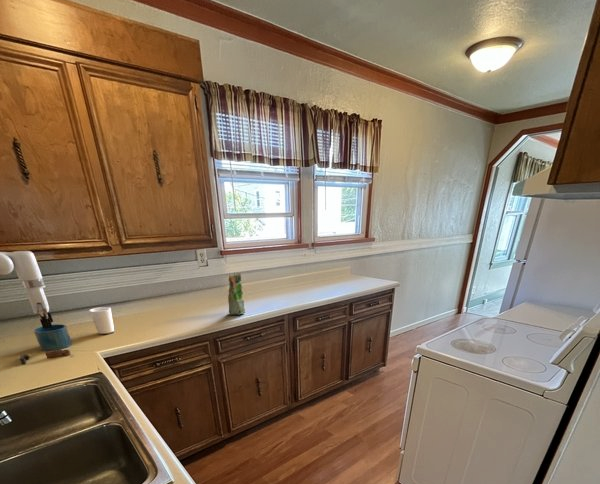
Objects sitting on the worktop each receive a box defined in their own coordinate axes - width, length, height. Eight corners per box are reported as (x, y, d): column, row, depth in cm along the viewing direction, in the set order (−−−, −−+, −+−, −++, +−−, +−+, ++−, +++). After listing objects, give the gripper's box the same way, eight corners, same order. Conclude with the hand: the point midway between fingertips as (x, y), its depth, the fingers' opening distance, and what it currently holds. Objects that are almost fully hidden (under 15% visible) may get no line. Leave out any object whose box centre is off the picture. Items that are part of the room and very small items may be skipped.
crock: (40, 352, 148) (32, 333, 144) (41, 344, 157) (34, 326, 153) (72, 347, 154) (65, 329, 150) (71, 340, 163) (66, 322, 159)
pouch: (243, 310, 214) (239, 271, 203) (248, 315, 205) (245, 273, 193) (226, 312, 210) (222, 272, 199) (231, 317, 200) (227, 275, 189)
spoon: (47, 359, 141) (45, 353, 140) (47, 357, 143) (45, 351, 142) (70, 355, 145) (68, 349, 144) (70, 353, 147) (68, 347, 146)
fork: (27, 363, 137) (25, 358, 136) (19, 365, 135) (17, 359, 134) (29, 356, 144) (27, 350, 143) (22, 357, 143) (20, 352, 142)
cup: (91, 334, 171) (84, 310, 165) (107, 329, 179) (100, 306, 174) (105, 336, 168) (98, 312, 162) (121, 331, 176) (115, 307, 170)
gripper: (23, 282, 136) (39, 321, 144) (19, 288, 123) (36, 332, 131) (45, 280, 139) (59, 319, 147) (43, 286, 126) (58, 328, 134)
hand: (48, 325), depth 139 cm, fingers open, 9 cm apart
